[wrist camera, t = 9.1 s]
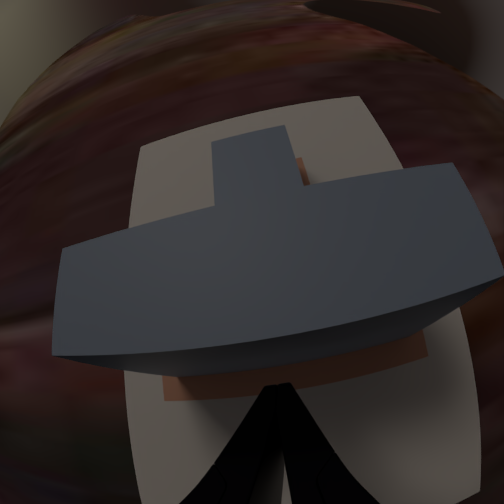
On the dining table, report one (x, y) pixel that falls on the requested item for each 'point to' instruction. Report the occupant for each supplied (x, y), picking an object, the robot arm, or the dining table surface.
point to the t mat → (315, 371)
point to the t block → (274, 268)
